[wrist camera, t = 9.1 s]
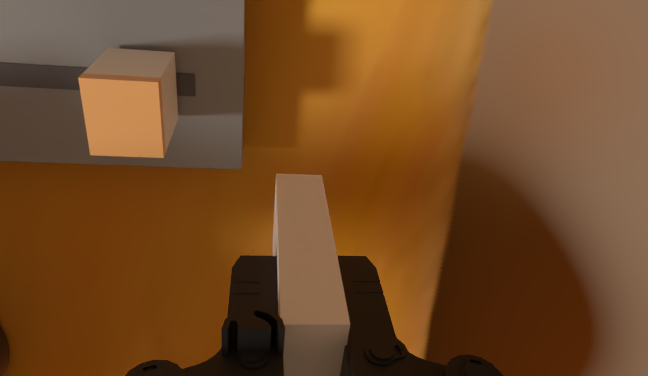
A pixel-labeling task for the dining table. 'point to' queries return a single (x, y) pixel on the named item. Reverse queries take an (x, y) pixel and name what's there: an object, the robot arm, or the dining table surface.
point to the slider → (130, 102)
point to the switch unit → (124, 33)
